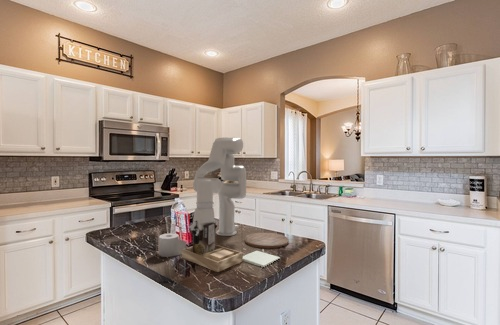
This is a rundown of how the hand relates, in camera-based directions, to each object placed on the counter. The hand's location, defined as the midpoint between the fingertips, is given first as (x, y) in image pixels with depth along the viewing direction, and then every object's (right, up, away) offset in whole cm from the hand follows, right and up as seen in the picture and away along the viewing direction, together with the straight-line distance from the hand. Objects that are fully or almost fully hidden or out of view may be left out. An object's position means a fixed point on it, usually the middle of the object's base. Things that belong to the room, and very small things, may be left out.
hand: (203, 241), depth 128 cm
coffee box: (0, -8, +1) cm, 8 cm away
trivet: (+31, -8, +27) cm, 42 cm away
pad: (+26, -8, -2) cm, 28 cm away
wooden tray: (+4, -8, -3) cm, 9 cm away
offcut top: (+9, -6, -7) cm, 13 cm away
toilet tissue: (-17, -7, +4) cm, 19 cm away
